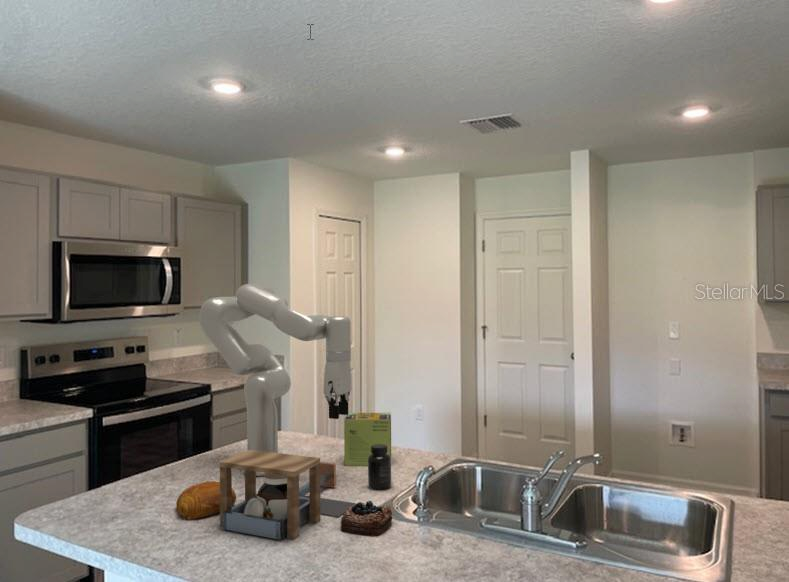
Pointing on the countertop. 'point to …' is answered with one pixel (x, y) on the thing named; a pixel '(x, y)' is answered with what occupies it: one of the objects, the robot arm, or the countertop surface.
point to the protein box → (365, 436)
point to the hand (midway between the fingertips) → (338, 415)
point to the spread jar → (270, 498)
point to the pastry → (366, 519)
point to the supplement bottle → (379, 468)
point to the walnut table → (279, 466)
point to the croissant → (201, 500)
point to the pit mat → (333, 507)
